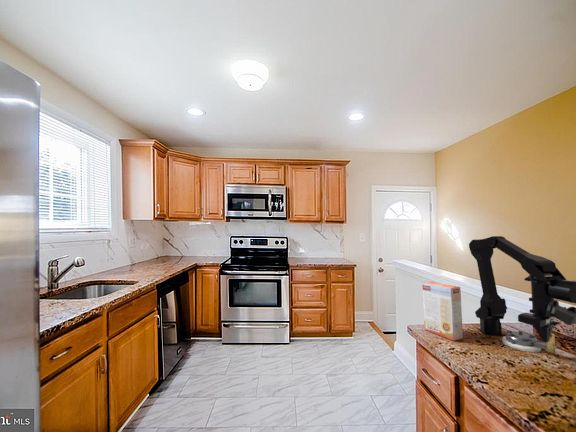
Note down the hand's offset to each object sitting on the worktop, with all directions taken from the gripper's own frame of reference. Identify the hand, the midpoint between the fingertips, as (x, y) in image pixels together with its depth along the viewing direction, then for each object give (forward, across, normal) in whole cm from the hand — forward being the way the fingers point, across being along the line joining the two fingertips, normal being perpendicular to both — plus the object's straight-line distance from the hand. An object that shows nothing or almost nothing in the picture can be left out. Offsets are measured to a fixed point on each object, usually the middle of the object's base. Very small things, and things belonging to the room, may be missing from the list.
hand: (545, 342), depth 93 cm
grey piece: (+3, +3, +6) cm, 8 cm away
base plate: (+5, +3, +9) cm, 11 cm away
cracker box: (+6, -13, +29) cm, 32 cm away
